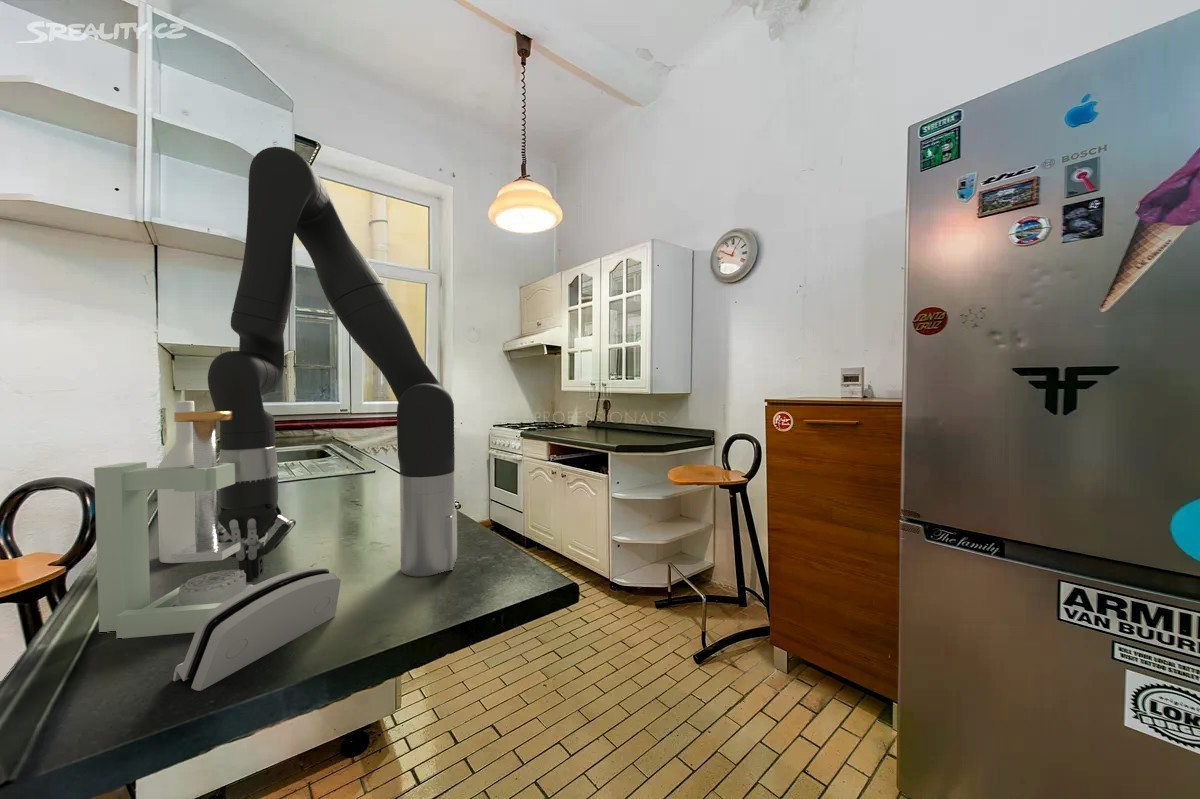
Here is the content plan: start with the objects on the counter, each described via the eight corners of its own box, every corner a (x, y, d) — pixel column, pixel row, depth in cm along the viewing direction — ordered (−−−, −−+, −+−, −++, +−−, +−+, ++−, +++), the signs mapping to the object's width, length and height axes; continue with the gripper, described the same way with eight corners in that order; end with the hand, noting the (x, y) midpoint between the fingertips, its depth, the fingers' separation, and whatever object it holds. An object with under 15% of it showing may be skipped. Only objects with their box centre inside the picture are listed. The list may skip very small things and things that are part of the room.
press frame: (305, 582, 73) (303, 451, 73) (255, 626, 59) (252, 465, 59) (170, 591, 70) (166, 454, 69) (84, 641, 56) (79, 470, 55)
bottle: (147, 561, 82) (143, 401, 81) (195, 546, 90) (192, 400, 89) (180, 565, 80) (176, 401, 79) (227, 549, 88) (223, 400, 87)
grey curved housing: (311, 609, 64) (327, 548, 63) (334, 625, 63) (351, 563, 61) (168, 682, 48) (185, 602, 47) (194, 705, 47) (213, 624, 46)
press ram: (244, 547, 65) (241, 410, 65) (217, 562, 59) (213, 412, 59) (198, 549, 64) (195, 410, 64) (165, 566, 58) (161, 413, 58)
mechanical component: (148, 620, 62) (201, 629, 59) (147, 589, 62) (201, 597, 59) (224, 589, 71) (272, 595, 69) (224, 562, 71) (272, 568, 69)
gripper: (305, 469, 76) (306, 567, 77) (217, 472, 74) (220, 574, 74) (282, 478, 69) (285, 587, 69) (184, 481, 66) (187, 594, 67)
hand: (251, 580), depth 72 cm, fingers closed
